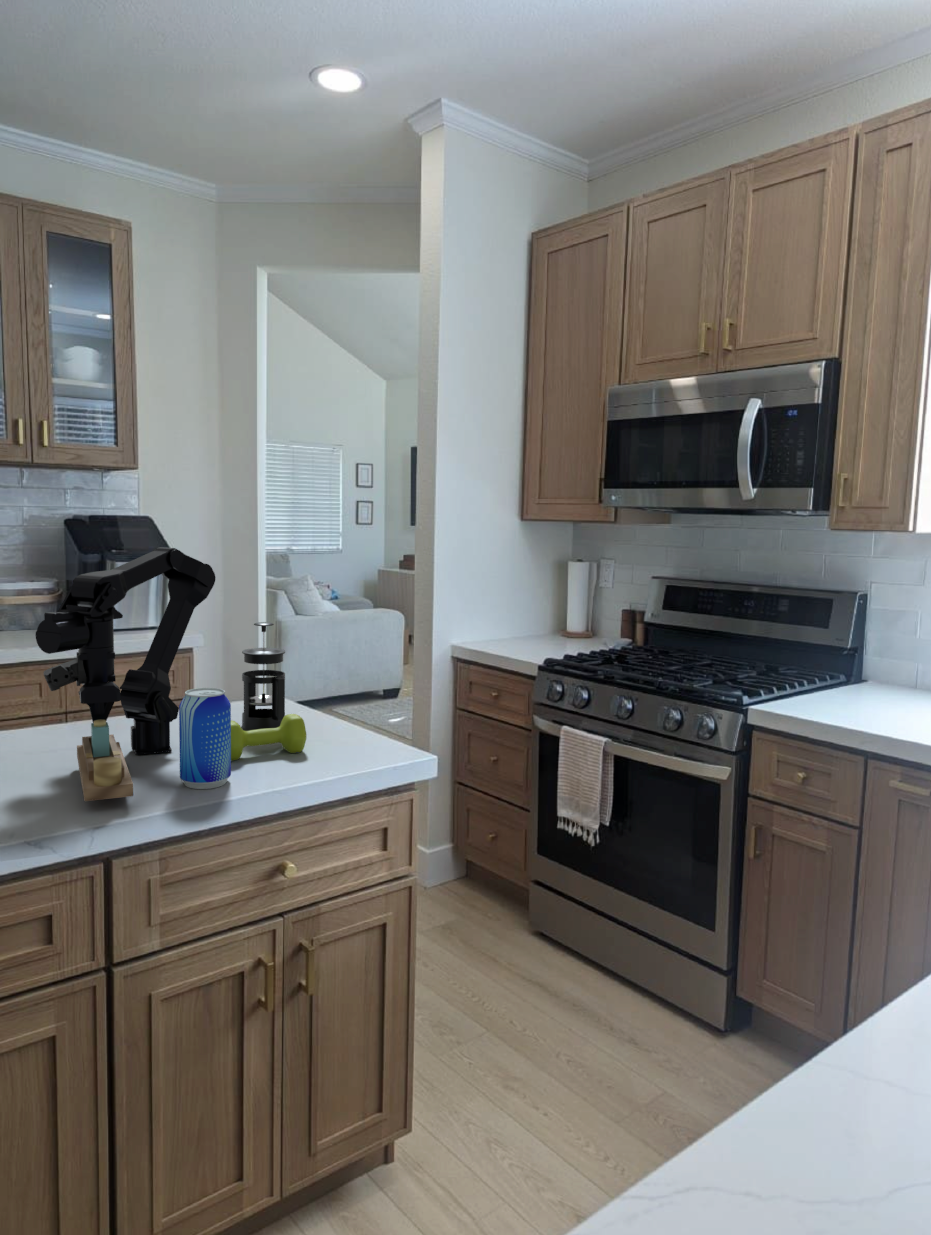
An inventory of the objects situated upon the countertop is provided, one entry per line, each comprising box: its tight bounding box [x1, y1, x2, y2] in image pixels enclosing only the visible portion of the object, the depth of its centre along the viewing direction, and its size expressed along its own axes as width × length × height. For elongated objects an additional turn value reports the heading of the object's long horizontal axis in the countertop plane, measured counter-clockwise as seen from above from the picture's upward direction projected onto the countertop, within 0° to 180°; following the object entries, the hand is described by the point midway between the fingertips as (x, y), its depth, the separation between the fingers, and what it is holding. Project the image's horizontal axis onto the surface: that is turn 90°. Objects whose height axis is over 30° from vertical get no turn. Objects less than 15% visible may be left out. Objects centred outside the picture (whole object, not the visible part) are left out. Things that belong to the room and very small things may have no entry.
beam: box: [76, 734, 134, 802], centre depth 146 cm, size 7×26×8 cm, turn 26°
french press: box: [240, 621, 286, 731], centre depth 186 cm, size 12×9×23 cm
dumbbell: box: [231, 713, 307, 762], centre depth 168 cm, size 16×8×7 cm, turn 120°
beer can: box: [178, 687, 232, 790], centre depth 149 cm, size 8×8×16 cm
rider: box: [90, 720, 110, 757], centre depth 151 cm, size 3×4×6 cm, turn 26°
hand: (98, 732), depth 156 cm, fingers closed
